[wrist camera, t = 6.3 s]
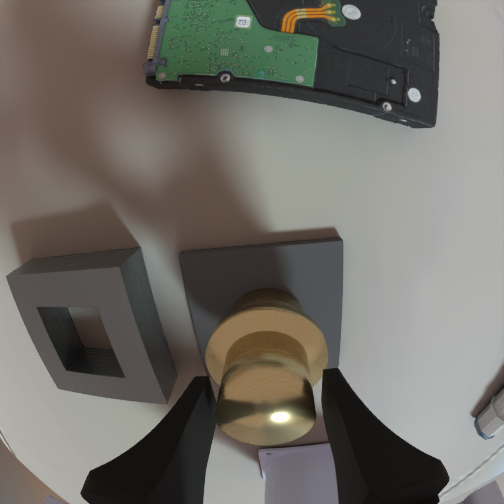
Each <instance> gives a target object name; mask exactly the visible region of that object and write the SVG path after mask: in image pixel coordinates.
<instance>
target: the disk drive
mask: <svg viewBox="0 0 504 504" xmlns="http://www.w3.org/2000/svg"><path fill="white" fill-rule="evenodd" d="M436 6H437V0H160V5H159V6H158V7H157V10H156V15H155V18H154V21H156V24H154V25H153V26H152V32H151V37H150V43H149V47H148V52H147V59H148V63H144V64H143V67H144V74H146V83H147V84H148V85H150V86H153V87H155V88H158V89H174V88H176V89H190V90H202V91H203V90H204V91H211V90H218V91H234V92H246V93H256V94H262V95H271V96H278V97H285V98H292V99H298V100H304V101H309V102H314V103H320V104H327V105H330V106H335V107H340V108H344V109H349V110H353V111H357V112H360V113H365V114H368V115H373V116H374V117H376V118H380V119H383V120H387V121H391V122H394V123H400V124H403V125H406V126H410V127H412V128H432V127H434V126H435V124H436V115H437V103H438V81H439V61H440V60H439V58H440V56H439V55H440V52H439V46H440V43H439V41H440V38H439V33H438V31H437V30H436V26H435V24H434V22H433V21H431V20H432V19H433V18H434V13H435V7H436Z"/></svg>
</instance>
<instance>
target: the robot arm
mask: <svg viewBox="0 0 504 504" xmlns="http://www.w3.org/2000/svg"><path fill="white" fill-rule="evenodd" d="M321 402H322V410H323V417H324V422H325V427H326V431H327V435H328V439H329V443H325V444H318V445H309V446H299V447H286V448H269V449H260V450H259V451H258V455H259V460H260V465H261V470H262V475H263V479H264V483H265V504H437V503H439V501H440V500H439V497H438V494H439V493H440V491H441V490H442V489H443V488H444V487H445V486H446V485H447V483H448V482H449V476H448V473H447V471H446V469H445V467H444V465H443V464H442V462H441V460H439V459H437V458H434V457H432V456H430V455H428V454H426V453H424V452H422V451H420V450H419V449H417V448H415V447H414V446H412V445H410V444H409V443H408V442H406V441H405V440H403V439H402V438H400V437H399V436H397V435H396V434H395V433H394V432H392V431H391V430H390V429H389V428H387V427H386V426H385V425H384V424H383V423H382V422H381V421H380V420H379V419H378V418H377V417H376V416H375V415H374V414H373V413H372V412H371V411H370V410H369V409H368V408H367V407H366V406H365V404H364V403H363V402H362V401H361V400H360V398H359V397H358V396H357V395H356V393H355V392H354V391H353V390H352V388H351V387H350V385H349V384H348V383H347V381H346V380H345V378H344V377H343V375H342V373H341V372H340V370H339V369H338V368H330V369H323V379H322V396H321ZM216 406H217V403H216V400H215V397H214V393H213V390H212V386H211V382H210V379H209V376H196V377H194V379H193V380H192V381H191V383H190V384H189V386H188V387H187V389H186V390H185V392H184V393H183V394H182V396H181V397H180V398H179V400H178V401H177V402H176V404H175V405H174V406H173V407H172V409H171V410H170V411H169V412H168V414H167V415H166V416H165V417H164V418H163V419H162V420H161V421H160V423H159V424H158V425H157V426H156V427H155V428H154V429H153V430H152V431H151V432H150V433H148V434H147V435H146V436H145V437H144V438H143V439H142V440H140V441H139V442H138V443H137V444H135V445H134V446H133V447H132V448H130V449H129V450H127V451H126V452H124V453H123V454H121V455H120V456H118V457H116V458H115V459H113V460H111V461H110V462H108V463H106V464H104V465H102V466H99V467H97V468H95V469H93V470H91V471H90V472H89V474H88V476H87V478H86V480H85V483H84V485H83V488H82V490H81V493H80V494H81V496H82V497H83V498H84V499H85V500H86V501H87V502H88V503H89V504H203V497H204V484H205V474H206V467H207V462H208V458H209V453H210V449H211V444H212V440H213V435H214V431H215V426H216V420H215V411H216ZM44 504H67V503H65V502H63V501H61V500H58V499H56V498H54V497H52V496H50V495H47V498H46V500H45V502H44ZM458 504H504V498H503V496H502V494H501V491H500V489H499V486H498V484H497V482H496V481H493V482H491V483H489V484H487V485H486V486H484V487H482V488H480V489H478V490H476V491H474V492H473V493H471V494H470V495H469V496H468V497H466V499H464V501H462V502H460V503H458Z"/></svg>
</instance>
